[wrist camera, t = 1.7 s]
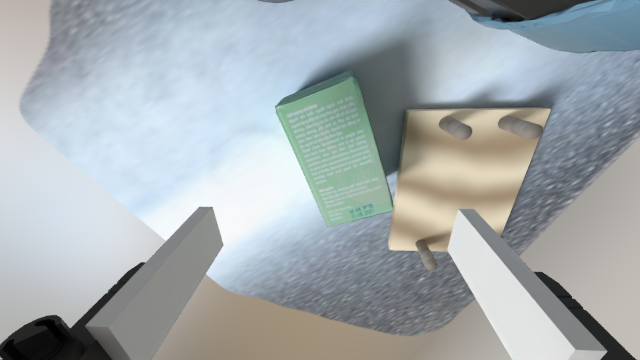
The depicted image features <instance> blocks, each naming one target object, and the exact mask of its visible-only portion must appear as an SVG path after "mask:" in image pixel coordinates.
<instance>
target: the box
mask: <svg viewBox="0 0 640 360" xmlns="http://www.w3.org/2000/svg"><path fill="white" fill-rule="evenodd" d="M275 108H276V114H277V116H278V118H279V120H280V122H281V124H282V126H283V128H284V131H285V133H286V135H287V137H288V139H289V142H290V144H291V146H292V148H293V150H294V153H295V155H296V157H297V159H298V162H299V164H300V166H301V169H302V171H303V173H304V176H305V178H306V180H307V182H308V185H309V187H310V189H311V192H312V194H313V196H314V199H315V201H316V203H317V206H318V208H319V210H320V213H321V215H322V217H323V219H324V221H325V223H326V225H327V226H328V227H331V226H335V225H339V224H343V223H347V222H351V221H355V220H359V219H363V218H367V217H371V216H375V215H379V214H383V213H388V212H391V211H393V210H394V207H393V201H392V196H391V193H390V189H389V186H388V182H387V179H386V176H385V172H384V169H383V165H382V162H381V158H380V155H379V152H378V148H377V145H376V141H375V138H374V134H373V131H372V127H371V124H370V121H369V117H368V114H367V110H366V107H365V104H364V100H363V97H362V93H361V90H360V85H359V81H358V79H357V77H356V76H355V74H354V73H353V72H351V71H350V70H348V71H346V72H344V73H342V74H339V75H337V76H335V77H332V78H330V79H327V80H325V81H323V82H320V83H318V84H316V85H313V86H311V87H308V88H306V89H303V90H301V91H299V92H296V93H294V94H292V95H289V96H287V97H285V98H283V99H282V100H281V101H280V102H279V103H278V104H277V105H276V106H275Z"/></svg>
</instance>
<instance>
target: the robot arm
mask: <svg viewBox="0 0 640 360" xmlns="http://www.w3.org/2000/svg"><path fill="white" fill-rule="evenodd" d="M259 1H263V2H271V3H281V2H288V1H293V0H259ZM449 1H451V2H452V3H454V4H456V5H458V6H459V7H461V8H463V9H465V10H466V11H467V12H468V13H469V14H470V16H471V17H472V19H473V20H475V21H476V22H478V23H480V24H482V25H484V26H487V27H491V28H496V29H508V30H510V31H512V32H514V33H517V34H519V35H521V36H523V37H525V38H527V39H530V40H532V41H534V42H536V43H538V44H540V45H543V46H545V47H548V48H551V49H555V50H559V51H565V52H573V53H589V52H596V51H623V52H625V51H631V50H640V0H449ZM222 247H223V242H222V239H221V235H220V232H219V228H218V225H217V221H216V217H215V214H214V210H213V207H199V208H198V209H197V210H196V211H195V212H194V213H193V214H192V215H191V216H190V217H189V218H188V219H187V220H186V221H185V222H184V223H183V224H182V226H181V227H180V228H179V229H178V230H177V231H176V232H175V233H174V234H173V235H172V236H171V237H170V238H169V239H168V240H167V241H166V242H165V243H164V244H163V245H162V247H160V248H159V249H158V251H157V252H156V253H155V254H154V255H153V256H152V257H151V258H150V259H149V260H148V261H147V262H146V263H144V262H141V263H140V264H138V265H137V266H135V267H134V268H132V269H131V270H129V271H128V272H127V273H126V274H125V275H124V276H123V277H122V278H121V279H120V280H119V281H118V282H117V284H115V285H114V286H113V287H112V288H111V289H110V290H109V291H108V293H106V294H105V295H104V296H103V297H102V298H101V299H100V300H99V301H98V302H97V303H96V304H95V305H94V306H93V307H92V308H91V309H90V310H89V311H88V312H87V313H86V314H85V315H84V316H83V317H82V318H81V319H79V320H78V321H77V322H76V323H75V325H74V326H72V328H69V327H68V326H67V325H66V323H65V322H64V321H63V320H62V319H61V318H60V317H58V316H57V315H51V316H45V317H42V318H39V319H36V320H34V321H32V322H30V323H28V324H26V325H24V326H23V327H21V328H20V329H18V330H17V331H15V332H14V333H12V334H11V335H10V336H9V337H8V338H7V339H6V340H5V341H3V342H2V343H1V345H0V357H1V358H3V359H2V360H152V358H153V357H154V355H155V354H156V352H157V351H158V349H159V347H160V346H161V344H162V343H163V341H164V339H165V338H166V336H167V335H168V333H169V331H170V329H171V328H172V327H173V325H174V323H175V322H176V320H177V319H178V317H179V315H180V314H181V312H182V311H183V309H184V307H185V306H186V304H187V303H188V301H189V299H190V298H191V296H192V294H193V293H194V291H195V290H196V288H197V287H198V285H199V283H200V282H201V280H202V279H203V277H204V275H205V274H206V272H207V271H208V269H209V267H210V266H211V264H212V263H213V261H214V259H215V258H216V256H217V255H218V253H219V251H220V250H221V248H222ZM447 250H448V252H449V254H450V255H451V257H452V259H453V260H454V262H455V264H456V265H457V267H458V269H459V270H460V272H461V274H462V276H463V277H464V279H465V281H466V282H467V284H468V286H469V287H470V289H471V291H472V292H473V294H474V296H475V298H476V299H477V301H478V302H479V304H480V306H481V308H482V309H483V311H484V313H485V315H486V316H487V318H488V319H489V321H490V323H491V325H492V326H493V328H494V330H495V331H496V333H497V335H498V336H499V338H500V340H501V341H502V343H503V345H504V347H505V348H506V350H507V352H508V353H509V355H510V357H511V359H512V360H636V359H635V358H634V357H633V356H632V355H630V353H628V352H627V351H626V350H625V349H624V348H623V347H622V346H621V345H620V344H619V343H618V342H617V341H616V340H615V339H614V338H613V337H612V336H611V335H610V334H609V333H608V332H607V331H606V330H605V329H604V328H603V327H602V326H601V325H600V324H599V323H598V322H597V321H596V320H595V319H594V318H593V317H592V316H591V315H590V314H589V313H588V312H587V311H586V310H584V309H583V307H582V306H581V305H580V304H579V303H578V302H577V301H576V300H575V299H572V296H571V295H570V294H569V293H568V292H567V291H566V290H565V289H564V288H563V287H562V286H561V285H560V284H559V283H558V282H556V281H555V280H553V279H552V278H550V277H549V276H547V275H546V274H544V273H543V272H533V271H532V270H531V269H530V268H529V267H528V266H527V265H526V264H525V263H524V262H523V261H522V260H521V259H520V257H519V256H518V255H517V254H516V253H515V252H514V251H513V250H512V249H511V248H510V247H509V246H508V245H507V244H506V243H505V241H504V240H503V239H502V238H501V237H500V236H499V235H498V234H497V233H496V232H495V231H494V230H493V229H492V228H491V227H490V226H489V224H488V223H487V222H486V221H485V220H484V219H483V218H482V217H481V216H480V215H479V214H478V213H477V212H476V211H475V210H474V209H458V211H457V215H456V219H455V223H454V226H453V230H452V234H451V237H450V241H449V245H448V248H447Z"/></svg>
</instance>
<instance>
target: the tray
mask: <svg viewBox="0 0 640 360" xmlns="http://www.w3.org/2000/svg"><path fill="white" fill-rule="evenodd" d="M550 111H551V109H549V108H544V107H512V108H453V109H406V112H405V120H404V128H403V135H402V143H401V151H400V158H399V166H398V174H397V181H396V189H395V197H394V204H393V207H394V210H393V212H392V220H391V227H390V235H389V243H388V245H389V248H390V250H408V251H418V252H419V254H420V256H421V258H422V261H423V263H424V265H425V267H426V269H427V270H434V269H436V268H437V263H436V261H435V259H434V257H433V255H432V253H431V251H448V250H447V248H448V245H449V241H450V237H451V234H452V230H453V226H454V223H455V219H456V215H457V211H458V209H474V210H475V211H476V212H477V213H478V214H479V215H480V216H481V217H482V218H483V219H484V220H485V221H486V222H487V223H488V224H489V226H490V227H491V228H492V229H493V230H494V231H495V232H496V233H497V234H498V235H499V236H500V237H501V235H502V232H503V230H504V227H505V225H506V222H507V220H508V217H509V214H510V212H511V209H512V207H513V204H514V202H515V199H516V197H517V194H518V192H519V189H520V187H521V184H522V182H523V179H524V176H525V174H526V171H527V169H528V166H529V164H530V161H531V159H532V156H533V154H534V151H535V149H536V146H537V144H538V141H539V138H540V136H541V134H542V133H543V128H544V126H545V123H546V121H547V118H548V116H549V113H550Z"/></svg>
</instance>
